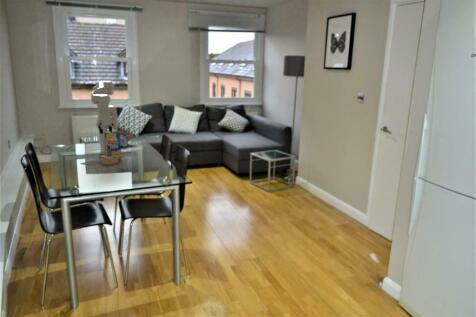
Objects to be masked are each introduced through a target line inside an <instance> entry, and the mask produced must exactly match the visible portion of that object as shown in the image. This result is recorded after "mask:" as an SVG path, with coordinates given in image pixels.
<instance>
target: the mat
mask: <svg viewBox="0 0 476 317" xmlns="http://www.w3.org/2000/svg"><path fill="white" fill-rule="evenodd" d="M99 164H102V161H99V160H93V159H92V160H89V161H85V162H81V163H80V165H84V166H91V167H92V166H95V165H99Z"/></svg>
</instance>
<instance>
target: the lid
mask: <svg viewBox="0 0 476 317" xmlns="http://www.w3.org/2000/svg"><path fill="white" fill-rule="evenodd" d="M99 157H100V159H101V158H102V159H113V158H117V157H119V155H118V154H111V149H108V150H107V154H100V156H99ZM102 159H101V160H102Z"/></svg>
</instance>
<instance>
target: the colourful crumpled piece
mask: <svg viewBox="0 0 476 317" xmlns="http://www.w3.org/2000/svg"><path fill="white" fill-rule="evenodd" d="M117 132H119V133H120V145H121V148H125V147H127V146H128V145H129V141H131V140H132V139H133V137H134V136H135V135H134V134H127V133H126V132H125V131H123V130H122V129H118V131H117Z"/></svg>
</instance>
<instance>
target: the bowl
mask: <svg viewBox="0 0 476 317" xmlns="http://www.w3.org/2000/svg"><path fill="white" fill-rule="evenodd" d="M100 159H101V162H102V163H101V164H102V165H114V164H117V163H118V162H119V158H118V157H117V158H113V159H102V158H100Z"/></svg>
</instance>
